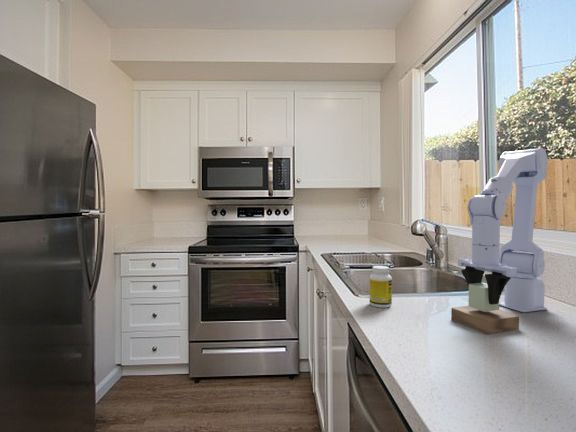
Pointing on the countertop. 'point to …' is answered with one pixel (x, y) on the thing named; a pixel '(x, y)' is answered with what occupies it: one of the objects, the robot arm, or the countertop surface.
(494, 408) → the countertop surface
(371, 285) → the pill bottle
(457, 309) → the walnut base
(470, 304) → the sage cube
